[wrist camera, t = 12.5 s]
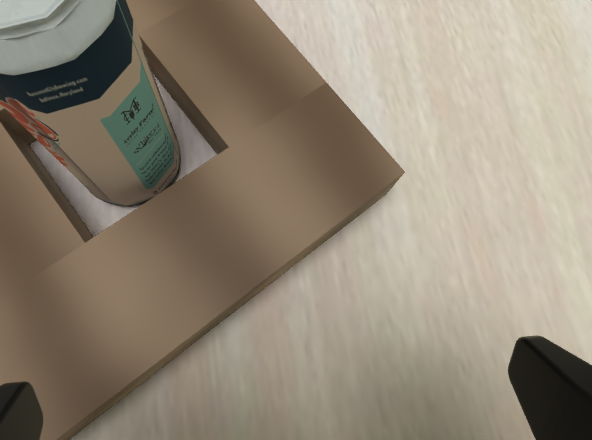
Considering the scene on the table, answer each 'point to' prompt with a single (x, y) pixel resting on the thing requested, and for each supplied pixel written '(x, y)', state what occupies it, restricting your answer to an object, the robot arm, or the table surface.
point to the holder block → (178, 213)
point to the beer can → (88, 94)
